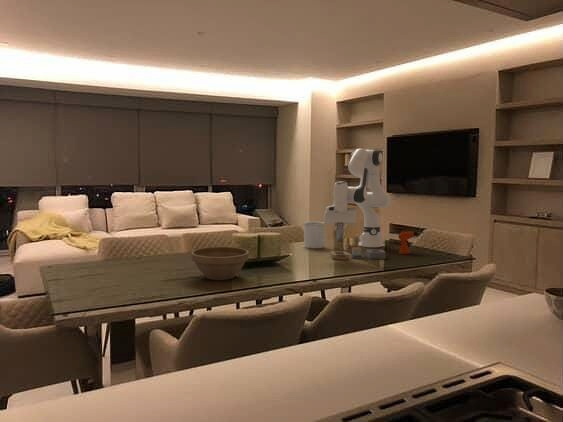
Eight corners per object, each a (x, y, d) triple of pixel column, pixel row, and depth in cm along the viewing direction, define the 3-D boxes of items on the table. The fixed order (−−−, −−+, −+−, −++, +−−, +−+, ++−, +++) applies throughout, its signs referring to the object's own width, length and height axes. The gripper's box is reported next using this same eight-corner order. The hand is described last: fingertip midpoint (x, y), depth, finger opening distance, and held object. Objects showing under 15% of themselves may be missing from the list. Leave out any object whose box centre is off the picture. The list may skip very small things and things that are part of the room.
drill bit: (336, 240, 285) (336, 219, 284) (342, 241, 285) (342, 219, 284) (337, 241, 281) (337, 219, 280) (343, 241, 281) (343, 219, 280)
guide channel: (347, 254, 296) (347, 252, 296) (359, 254, 296) (359, 252, 296) (351, 258, 282) (351, 256, 281) (364, 258, 282) (364, 256, 282)
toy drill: (427, 250, 303) (425, 228, 301) (401, 255, 299) (399, 232, 297) (423, 249, 307) (421, 227, 306) (397, 254, 304) (395, 231, 302)
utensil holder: (301, 245, 332) (302, 221, 330) (322, 245, 333) (322, 221, 332) (305, 248, 317) (305, 223, 316) (326, 248, 319) (326, 223, 317)
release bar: (352, 256, 288) (352, 247, 287) (360, 256, 288) (360, 247, 288) (353, 257, 284) (353, 248, 283) (361, 257, 284) (361, 248, 284)
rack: (330, 256, 289) (330, 251, 288) (346, 256, 289) (346, 251, 289) (332, 259, 279) (332, 254, 278) (349, 259, 279) (349, 254, 279)
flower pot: (254, 281, 221) (254, 254, 220) (194, 285, 213) (194, 257, 212) (242, 269, 248) (242, 245, 247) (189, 272, 240) (188, 247, 239)
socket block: (366, 255, 291) (366, 249, 291) (381, 255, 291) (381, 249, 291) (369, 258, 281) (369, 252, 281) (385, 258, 281) (385, 252, 281)
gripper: (356, 207, 285) (355, 229, 286) (323, 207, 284) (323, 229, 285) (358, 208, 278) (357, 230, 279) (324, 207, 278) (324, 230, 279)
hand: (340, 230), depth 282 cm, fingers closed on drill bit, 4 cm apart
